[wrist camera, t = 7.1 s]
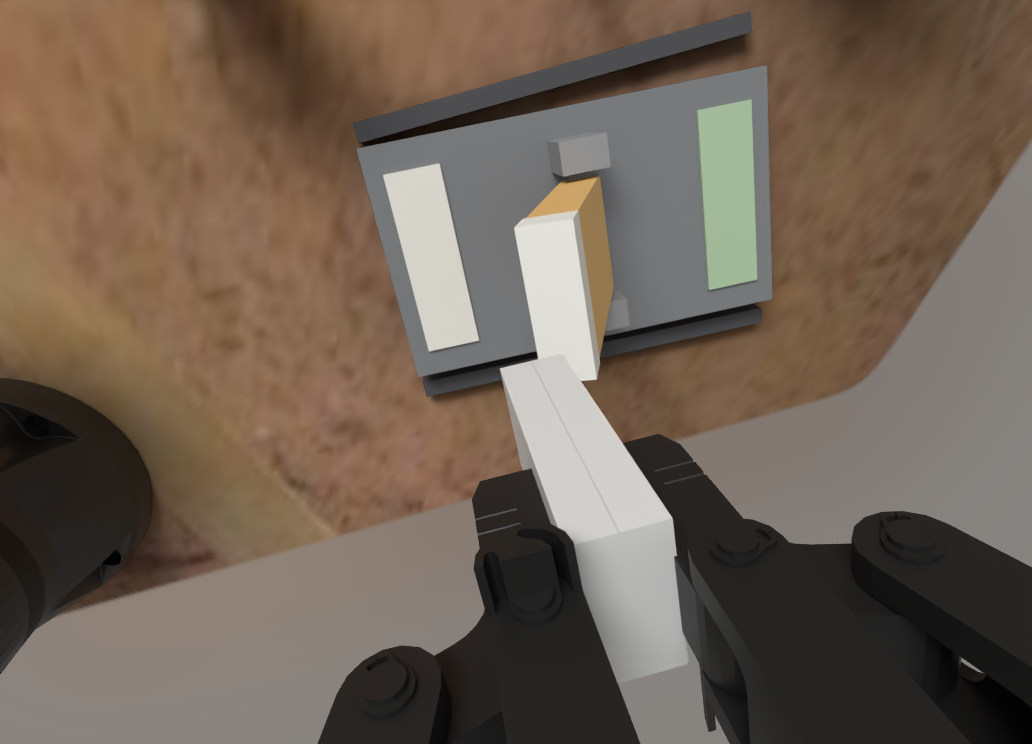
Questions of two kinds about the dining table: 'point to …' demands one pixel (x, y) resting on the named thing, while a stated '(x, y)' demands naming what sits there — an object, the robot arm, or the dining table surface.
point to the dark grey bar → (553, 77)
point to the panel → (627, 204)
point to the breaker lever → (568, 272)
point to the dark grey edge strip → (603, 346)
